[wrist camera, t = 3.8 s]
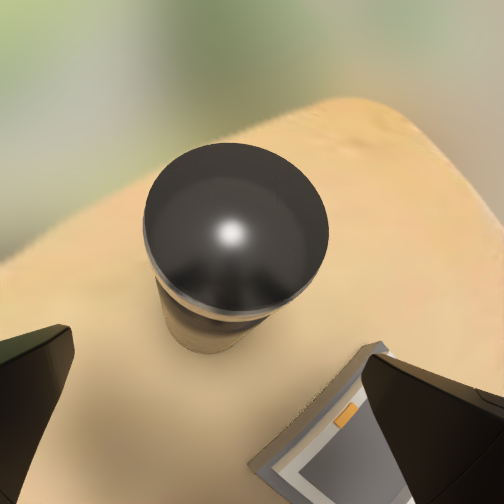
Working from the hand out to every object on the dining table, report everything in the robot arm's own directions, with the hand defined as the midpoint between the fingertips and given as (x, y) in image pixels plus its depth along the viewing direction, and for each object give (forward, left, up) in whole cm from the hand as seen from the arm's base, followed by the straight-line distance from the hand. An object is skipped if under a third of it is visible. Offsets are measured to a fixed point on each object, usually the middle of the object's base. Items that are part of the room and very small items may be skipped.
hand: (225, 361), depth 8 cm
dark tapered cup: (+3, -3, -12) cm, 13 cm away
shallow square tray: (-12, -4, -12) cm, 17 cm away
